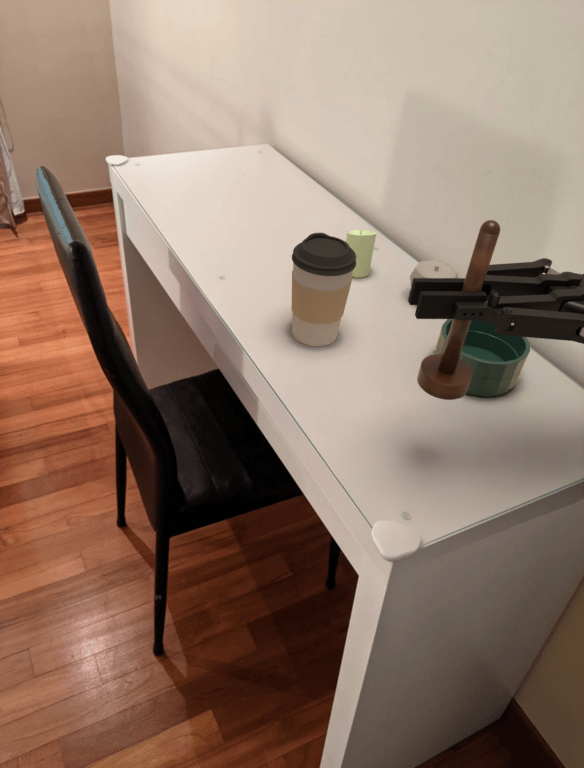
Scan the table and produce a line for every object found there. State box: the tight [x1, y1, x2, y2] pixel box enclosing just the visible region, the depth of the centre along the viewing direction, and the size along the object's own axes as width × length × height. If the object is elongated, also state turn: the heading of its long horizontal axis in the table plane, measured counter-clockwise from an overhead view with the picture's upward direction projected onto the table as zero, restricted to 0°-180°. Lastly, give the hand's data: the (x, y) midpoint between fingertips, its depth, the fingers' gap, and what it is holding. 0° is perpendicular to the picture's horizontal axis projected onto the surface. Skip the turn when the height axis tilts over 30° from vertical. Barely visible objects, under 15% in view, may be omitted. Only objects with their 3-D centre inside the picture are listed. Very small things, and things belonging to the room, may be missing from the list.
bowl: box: [433, 319, 531, 398], centre depth 87 cm, size 12×12×6 cm
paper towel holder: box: [416, 219, 501, 401], centre depth 62 cm, size 6×6×19 cm
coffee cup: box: [291, 232, 356, 347], centre depth 88 cm, size 9×9×15 cm
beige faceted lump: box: [409, 259, 459, 288], centre depth 102 cm, size 8×8×7 cm
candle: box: [345, 229, 377, 279], centre depth 107 cm, size 5×5×8 cm
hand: (415, 298), depth 60 cm, fingers closed on paper towel holder, 2 cm apart
